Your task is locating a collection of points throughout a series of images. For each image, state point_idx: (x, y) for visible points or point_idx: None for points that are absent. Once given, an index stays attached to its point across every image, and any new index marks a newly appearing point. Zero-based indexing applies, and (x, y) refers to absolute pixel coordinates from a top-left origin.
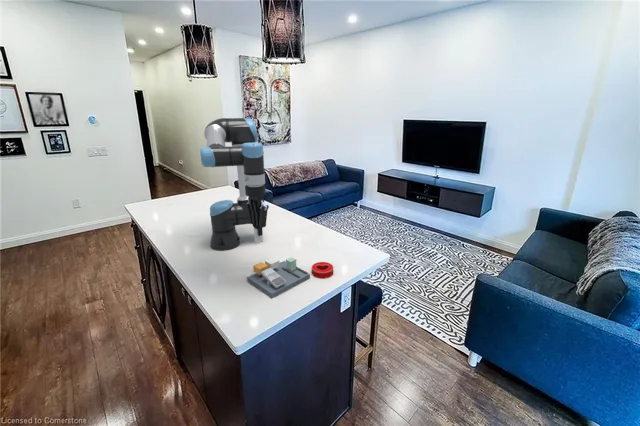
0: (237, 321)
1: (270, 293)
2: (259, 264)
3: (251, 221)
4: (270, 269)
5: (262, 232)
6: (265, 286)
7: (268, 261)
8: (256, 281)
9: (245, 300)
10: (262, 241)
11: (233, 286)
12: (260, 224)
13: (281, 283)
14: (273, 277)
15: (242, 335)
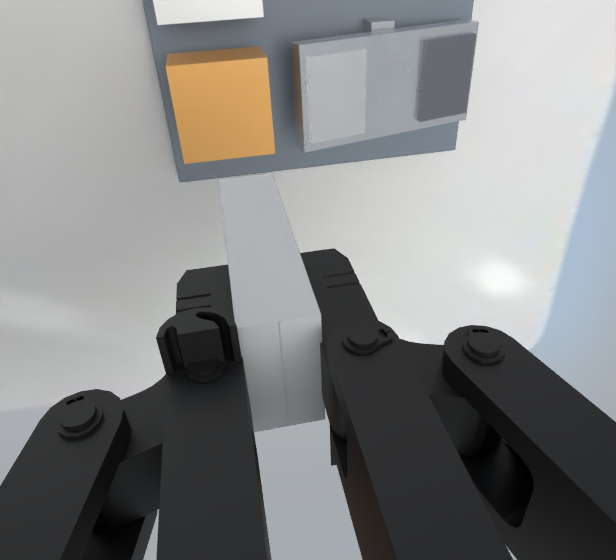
0: (446, 323)
1: (439, 149)
2: (201, 110)
3: (142, 539)
4: (325, 68)
5: (356, 276)
6: (367, 140)
7: (196, 4)
8: (275, 157)
9: (351, 252)
10: (274, 180)
11: (186, 254)
12: (523, 490)
13: (471, 69)
14: (399, 91)
15: (516, 332)
